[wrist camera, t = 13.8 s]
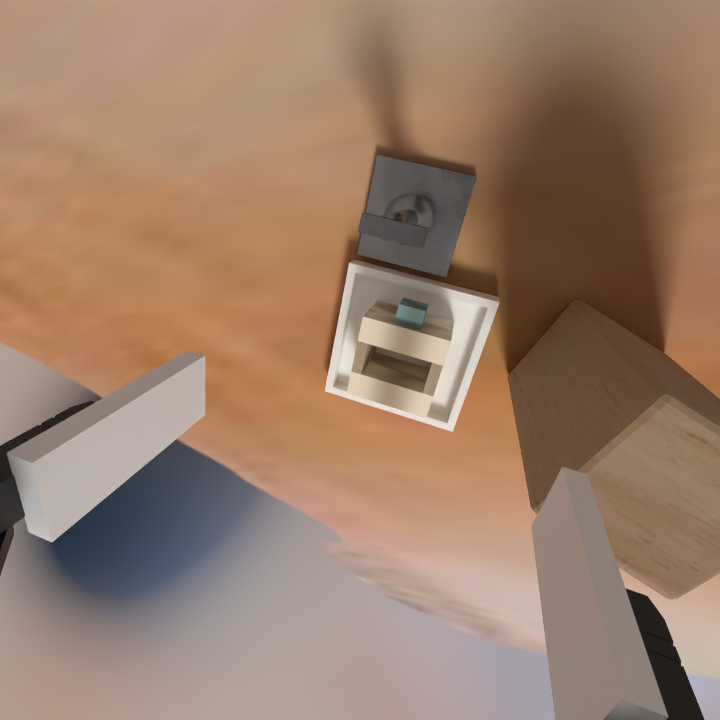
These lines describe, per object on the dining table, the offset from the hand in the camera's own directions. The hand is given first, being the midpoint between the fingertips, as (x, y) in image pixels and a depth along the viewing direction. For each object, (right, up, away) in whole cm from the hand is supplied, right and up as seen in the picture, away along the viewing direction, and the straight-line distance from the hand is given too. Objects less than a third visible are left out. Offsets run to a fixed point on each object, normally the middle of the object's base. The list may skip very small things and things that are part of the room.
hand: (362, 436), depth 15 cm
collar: (+5, +4, +28) cm, 29 cm away
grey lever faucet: (+5, +16, +24) cm, 29 cm away
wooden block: (+22, +2, +25) cm, 33 cm away
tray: (+5, +5, +29) cm, 29 cm away
